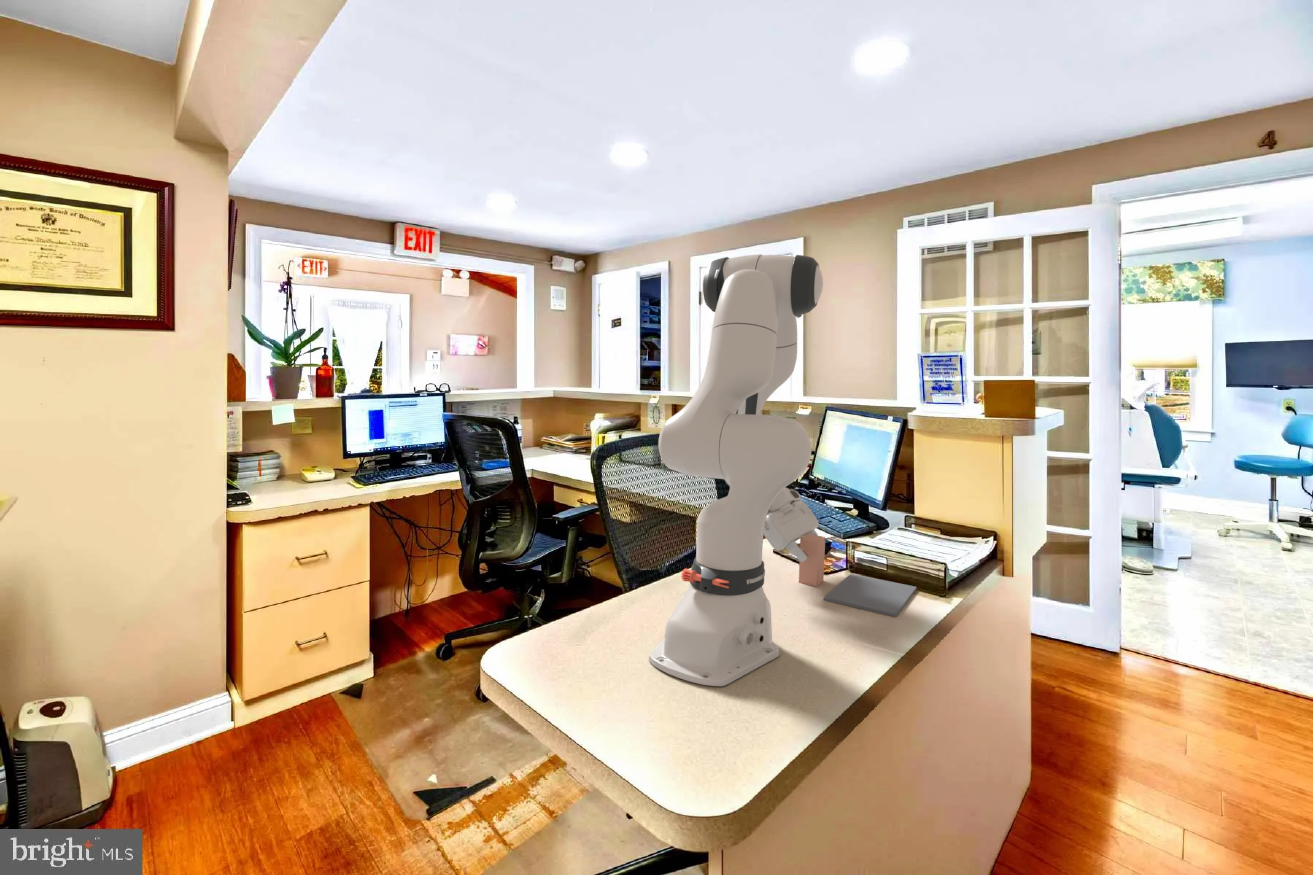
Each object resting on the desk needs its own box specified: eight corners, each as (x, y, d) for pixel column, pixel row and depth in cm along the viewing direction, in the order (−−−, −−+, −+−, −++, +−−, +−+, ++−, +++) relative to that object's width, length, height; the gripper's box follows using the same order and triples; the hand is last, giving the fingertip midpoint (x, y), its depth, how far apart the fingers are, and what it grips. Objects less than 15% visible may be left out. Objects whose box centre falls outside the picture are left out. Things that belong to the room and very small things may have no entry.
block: (816, 586, 124) (818, 541, 123) (798, 582, 126) (800, 538, 125) (823, 580, 127) (825, 537, 126) (806, 576, 130) (807, 534, 129)
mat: (896, 616, 108) (896, 613, 108) (823, 599, 116) (823, 596, 116) (916, 589, 122) (916, 586, 122) (850, 576, 130) (850, 573, 130)
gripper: (763, 504, 121) (806, 558, 116) (800, 490, 137) (838, 536, 133) (744, 522, 124) (785, 574, 119) (782, 506, 140) (819, 551, 136)
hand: (813, 554), depth 126 cm, fingers open, 8 cm apart
